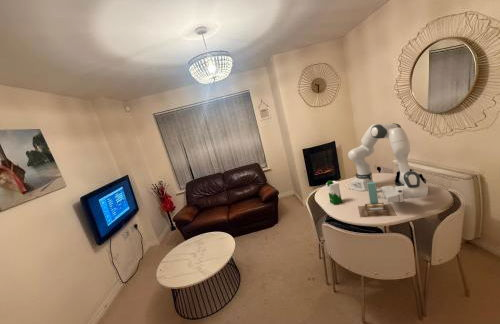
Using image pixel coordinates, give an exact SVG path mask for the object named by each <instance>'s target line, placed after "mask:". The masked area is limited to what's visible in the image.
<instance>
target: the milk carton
mask: <svg viewBox="0 0 500 324" xmlns="http://www.w3.org/2000/svg"><path fill="white" fill-rule="evenodd" d="M325 185H326V187H327V191H328V197H329V198H328V199H329V202H330V204H333V206H336V205H340V204H342V203H343V200H342V194H341V189H340V182H338V181H336V180H327V182H326V183H325Z"/></svg>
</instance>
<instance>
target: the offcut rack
mask: <svg viewBox="0 0 500 324" xmlns="http://www.w3.org/2000/svg"><path fill="white" fill-rule="evenodd" d="M378 203H379V204H383V205H384V208H383V210H380V211H370V209H368V208H367V205H370V203H364V205H358V206H357V209H358V213H359V218H375V217H376V218H377V217H380V218H381V217H397V216H398V215H397V213H396V211H395V209H394V207H393V206H392V204H391V203H386V204H384V202H378Z"/></svg>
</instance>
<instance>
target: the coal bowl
mask: <svg viewBox="0 0 500 324" xmlns="http://www.w3.org/2000/svg"><path fill="white" fill-rule="evenodd" d="M409 169H410V171H414V169H411V168H409ZM417 174H418V175H419V177H420V178H421V180H422V181H423V182H424V183H425V184H426V185H427V179H426V178H425V177H424V175H423V174H422V173H417ZM399 176H400V171H399V170H398V171H396V176H395V178H394V185H395V186H402V185H401V184H400V182H399Z"/></svg>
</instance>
